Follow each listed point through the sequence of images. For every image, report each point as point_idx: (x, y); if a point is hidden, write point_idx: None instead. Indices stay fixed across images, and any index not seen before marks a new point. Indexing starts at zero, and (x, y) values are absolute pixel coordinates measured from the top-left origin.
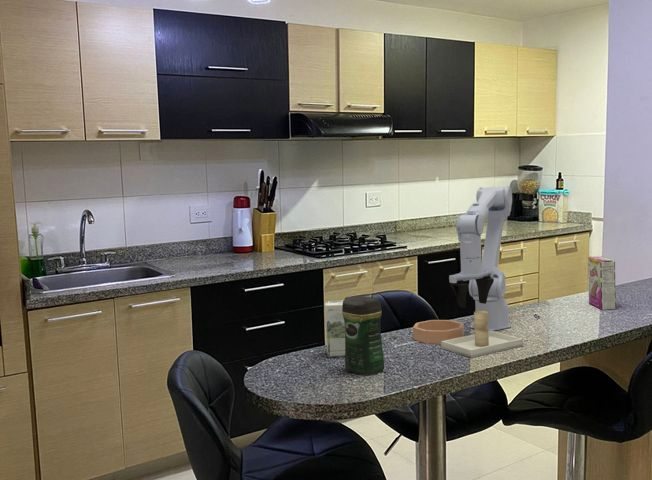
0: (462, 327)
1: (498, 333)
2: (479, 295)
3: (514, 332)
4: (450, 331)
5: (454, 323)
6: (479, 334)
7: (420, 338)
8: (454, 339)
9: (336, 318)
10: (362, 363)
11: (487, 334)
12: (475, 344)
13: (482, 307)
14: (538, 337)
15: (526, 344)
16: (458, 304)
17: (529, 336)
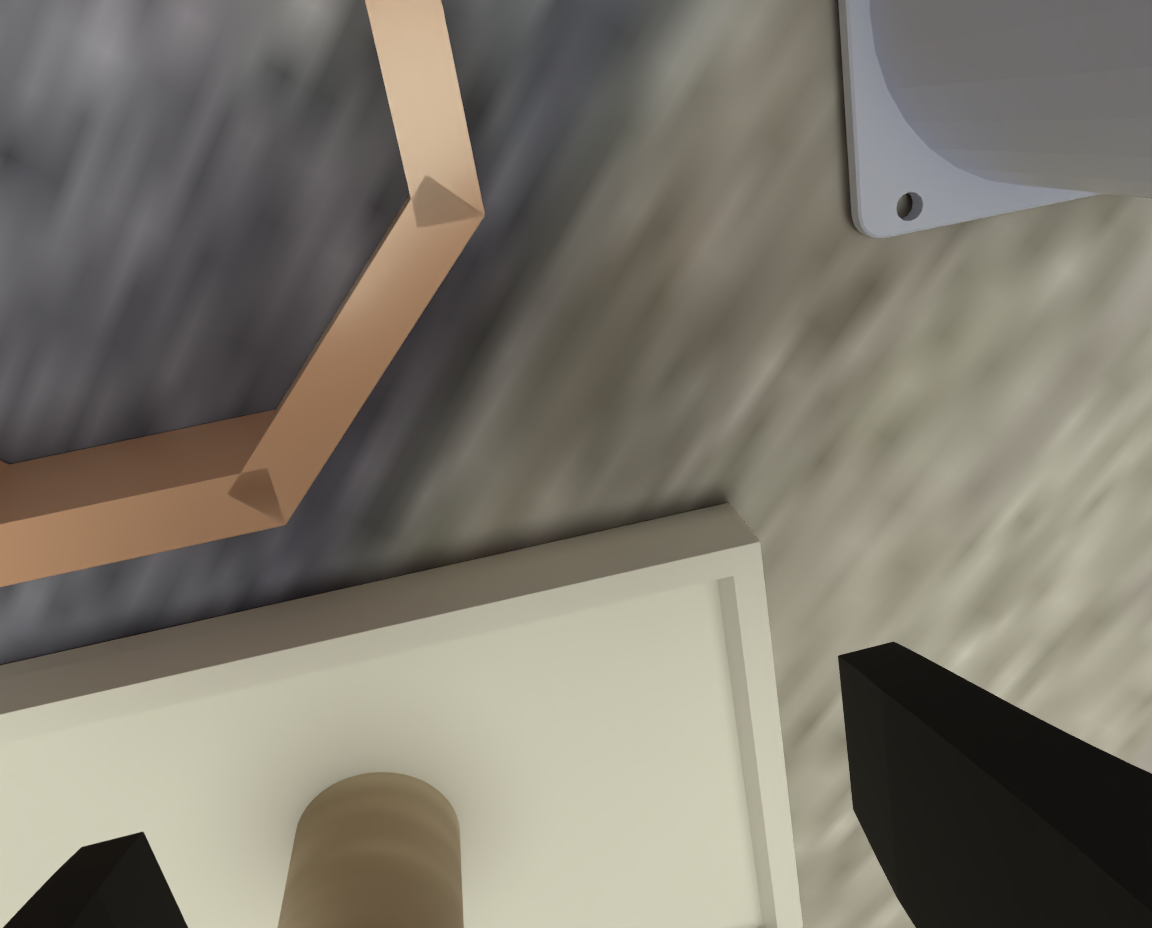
0: (311, 484)
1: (748, 691)
2: (959, 788)
3: (1122, 399)
4: (22, 574)
5: (367, 2)
6: None
7: None
8: (38, 732)
9: None
10: None
11: None
12: (292, 849)
13: (1147, 67)
14: (1136, 705)
15: (849, 877)
16: (39, 894)
17: (1103, 634)
